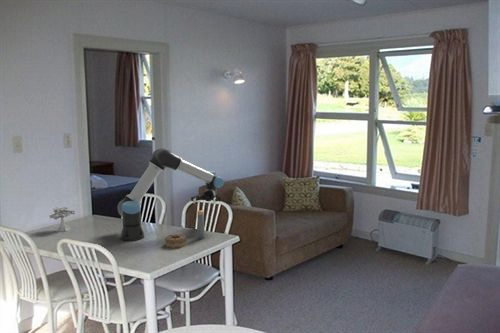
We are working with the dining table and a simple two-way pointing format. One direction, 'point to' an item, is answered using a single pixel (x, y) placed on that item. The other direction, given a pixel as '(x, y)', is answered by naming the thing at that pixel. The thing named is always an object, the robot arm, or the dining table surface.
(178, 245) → the brown ring
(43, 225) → the dining table surface
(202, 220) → the grey upright bar
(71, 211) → the grey branching stemmed part
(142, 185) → the robot arm
